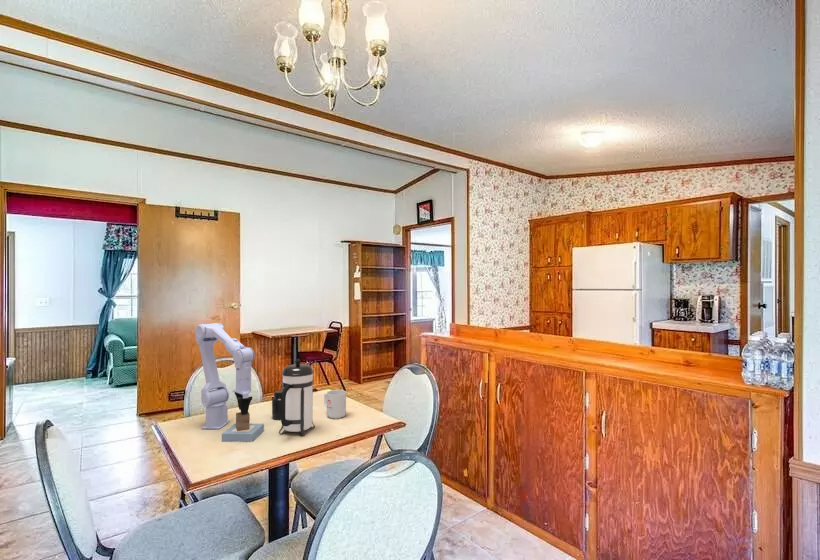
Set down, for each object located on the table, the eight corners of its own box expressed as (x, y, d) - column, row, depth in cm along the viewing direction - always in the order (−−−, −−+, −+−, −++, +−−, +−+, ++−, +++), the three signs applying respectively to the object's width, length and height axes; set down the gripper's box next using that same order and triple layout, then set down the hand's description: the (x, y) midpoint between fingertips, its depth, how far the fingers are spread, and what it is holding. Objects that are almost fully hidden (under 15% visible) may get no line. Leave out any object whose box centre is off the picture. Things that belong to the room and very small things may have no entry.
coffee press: (272, 428, 176) (273, 357, 176) (310, 423, 183) (311, 354, 184) (280, 442, 161) (281, 364, 161) (321, 435, 168) (322, 361, 168)
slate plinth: (235, 430, 173) (235, 423, 173) (263, 430, 173) (263, 423, 173) (221, 441, 161) (221, 433, 161) (252, 441, 161) (252, 434, 161)
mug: (349, 415, 194) (350, 391, 194) (336, 420, 187) (336, 395, 187) (331, 411, 201) (331, 387, 201) (317, 415, 194) (317, 391, 194)
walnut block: (235, 427, 168) (236, 412, 168) (247, 425, 170) (247, 411, 170) (237, 431, 164) (237, 415, 164) (249, 429, 166) (249, 414, 166)
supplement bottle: (282, 414, 195) (282, 388, 195) (290, 417, 191) (290, 391, 191) (268, 418, 190) (269, 391, 190) (277, 421, 185) (277, 394, 185)
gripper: (231, 375, 173) (230, 408, 173) (234, 383, 160) (234, 418, 160) (249, 373, 177) (248, 406, 176) (254, 381, 164) (253, 415, 164)
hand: (243, 411), depth 169 cm, fingers open, 7 cm apart
